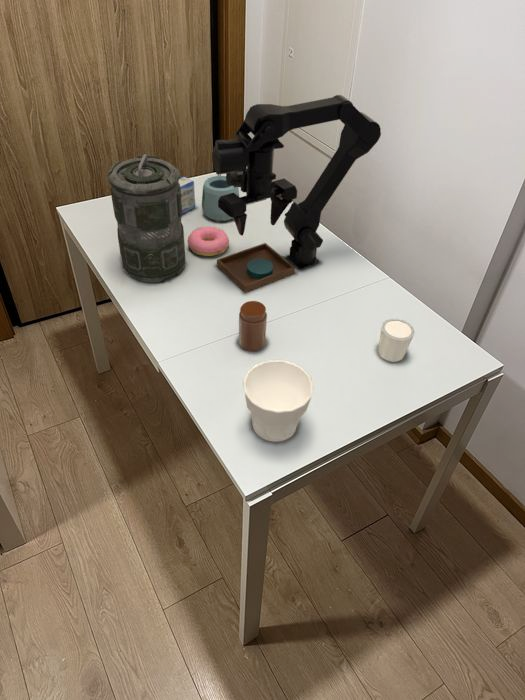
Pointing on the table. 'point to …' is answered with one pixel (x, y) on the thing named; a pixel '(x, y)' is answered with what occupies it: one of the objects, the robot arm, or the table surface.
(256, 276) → the lid
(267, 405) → the cream flower pot
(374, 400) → the table surface
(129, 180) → the canister
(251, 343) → the jar
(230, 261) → the tray
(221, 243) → the doughnut
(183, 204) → the medicine box
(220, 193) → the mug
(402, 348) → the cream cylinder
